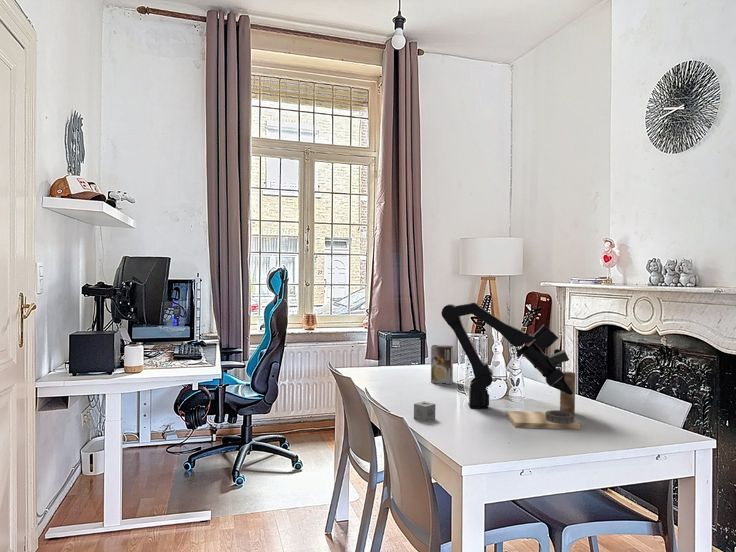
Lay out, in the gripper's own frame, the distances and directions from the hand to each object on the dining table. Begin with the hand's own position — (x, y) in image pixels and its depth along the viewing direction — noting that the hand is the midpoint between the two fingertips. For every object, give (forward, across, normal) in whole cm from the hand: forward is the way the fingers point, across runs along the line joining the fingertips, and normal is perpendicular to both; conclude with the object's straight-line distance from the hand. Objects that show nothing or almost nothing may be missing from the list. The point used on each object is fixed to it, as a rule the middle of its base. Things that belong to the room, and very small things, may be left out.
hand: (570, 391), depth 182 cm
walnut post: (+5, 0, +6) cm, 8 cm away
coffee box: (-29, +38, +40) cm, 62 cm away
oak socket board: (-2, -14, +13) cm, 19 cm away
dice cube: (-28, -22, +39) cm, 53 cm away
